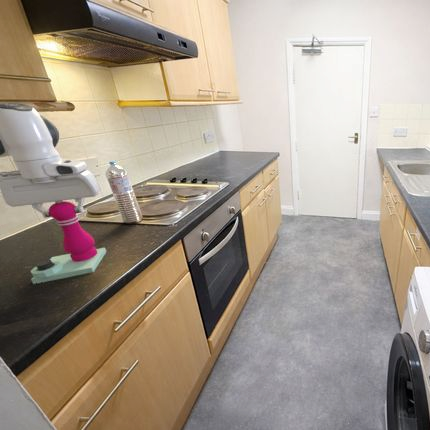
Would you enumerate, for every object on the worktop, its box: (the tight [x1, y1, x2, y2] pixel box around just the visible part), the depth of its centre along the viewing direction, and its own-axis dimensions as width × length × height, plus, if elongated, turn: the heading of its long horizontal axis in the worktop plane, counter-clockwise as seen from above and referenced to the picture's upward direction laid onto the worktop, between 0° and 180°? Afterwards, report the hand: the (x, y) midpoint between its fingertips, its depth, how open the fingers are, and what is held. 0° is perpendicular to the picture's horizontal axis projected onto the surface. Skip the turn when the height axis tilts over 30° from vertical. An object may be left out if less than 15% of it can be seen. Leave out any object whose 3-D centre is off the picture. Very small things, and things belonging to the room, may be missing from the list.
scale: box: [30, 247, 108, 285], centre depth 81 cm, size 14×13×4 cm
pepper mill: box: [48, 200, 97, 262], centre depth 79 cm, size 7×7×20 cm
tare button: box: [35, 259, 54, 271], centre depth 76 cm, size 3×3×2 cm
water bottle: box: [104, 160, 144, 225], centre depth 105 cm, size 7×7×25 cm
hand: (65, 214), depth 77 cm, fingers closed on pepper mill, 6 cm apart
